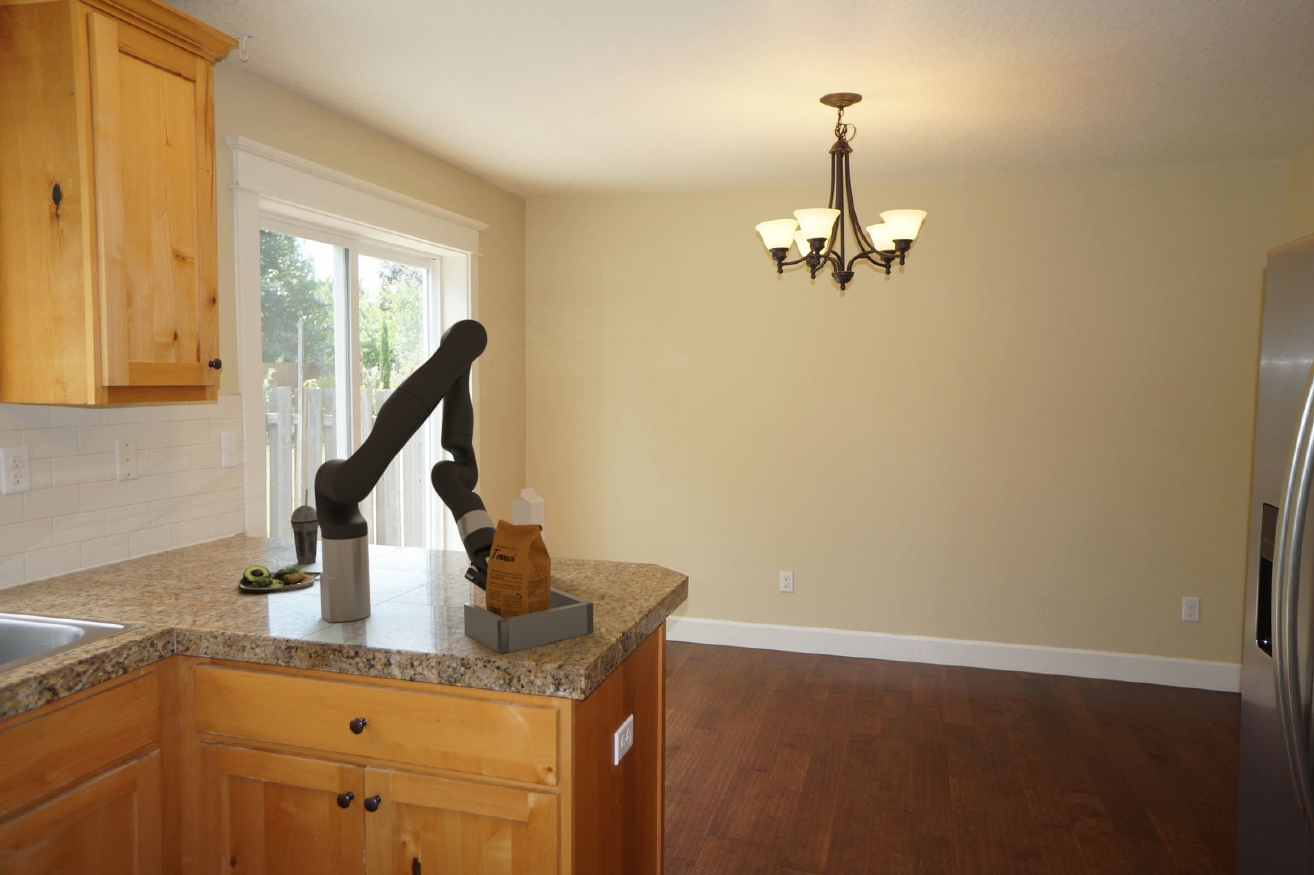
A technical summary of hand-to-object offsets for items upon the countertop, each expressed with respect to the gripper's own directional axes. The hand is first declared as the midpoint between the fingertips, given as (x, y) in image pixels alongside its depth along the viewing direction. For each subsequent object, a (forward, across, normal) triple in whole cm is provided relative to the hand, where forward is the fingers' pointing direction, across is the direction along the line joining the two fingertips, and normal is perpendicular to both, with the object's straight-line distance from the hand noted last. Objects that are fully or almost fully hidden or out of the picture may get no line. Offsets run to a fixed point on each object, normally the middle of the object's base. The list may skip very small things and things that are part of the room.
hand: (508, 604), depth 175 cm
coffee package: (+8, -2, -2) cm, 8 cm away
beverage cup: (-57, -15, +63) cm, 86 cm away
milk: (-21, +24, +26) cm, 41 cm away
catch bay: (+9, 0, -3) cm, 9 cm away
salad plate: (-43, -28, +49) cm, 71 cm away
